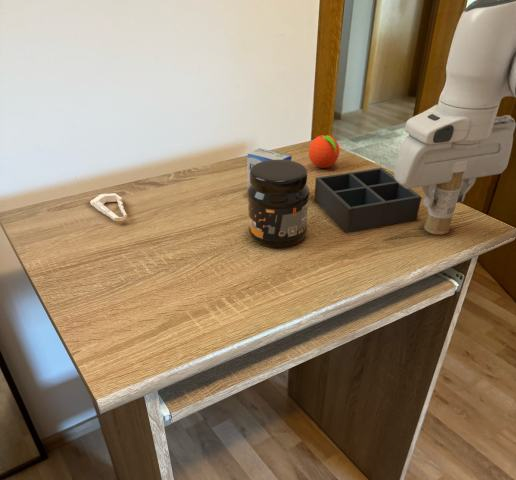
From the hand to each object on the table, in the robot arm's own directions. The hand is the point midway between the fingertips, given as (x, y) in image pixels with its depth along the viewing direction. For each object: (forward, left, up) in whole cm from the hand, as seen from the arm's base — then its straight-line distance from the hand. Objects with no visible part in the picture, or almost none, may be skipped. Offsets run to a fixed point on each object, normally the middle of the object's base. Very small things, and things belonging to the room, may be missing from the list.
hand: (443, 203), depth 86 cm
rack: (+9, -12, -5) cm, 16 cm away
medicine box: (+24, -24, -5) cm, 34 cm away
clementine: (+7, -34, -5) cm, 35 cm away
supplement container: (+28, -8, -5) cm, 30 cm away
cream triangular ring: (+55, -28, -5) cm, 62 cm away
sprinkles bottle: (0, 0, -5) cm, 5 cm away
